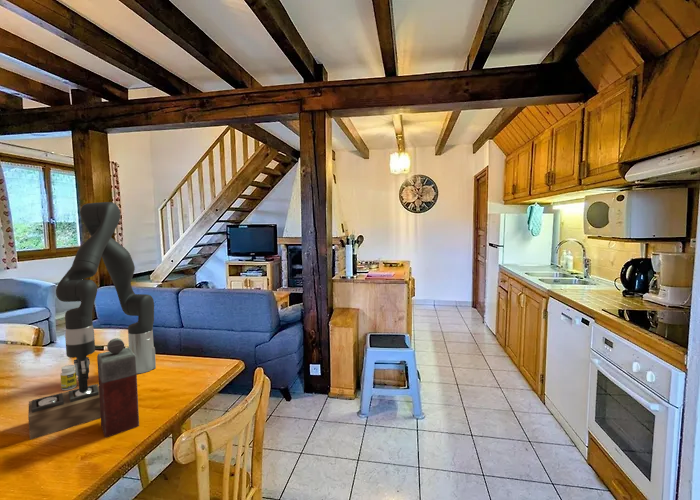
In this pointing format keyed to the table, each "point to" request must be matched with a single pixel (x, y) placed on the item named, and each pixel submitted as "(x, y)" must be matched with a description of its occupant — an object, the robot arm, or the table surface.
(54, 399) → the peg
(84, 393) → the peg
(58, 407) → the brown wooden block
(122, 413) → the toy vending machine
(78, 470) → the table surface
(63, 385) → the supplement bottle
